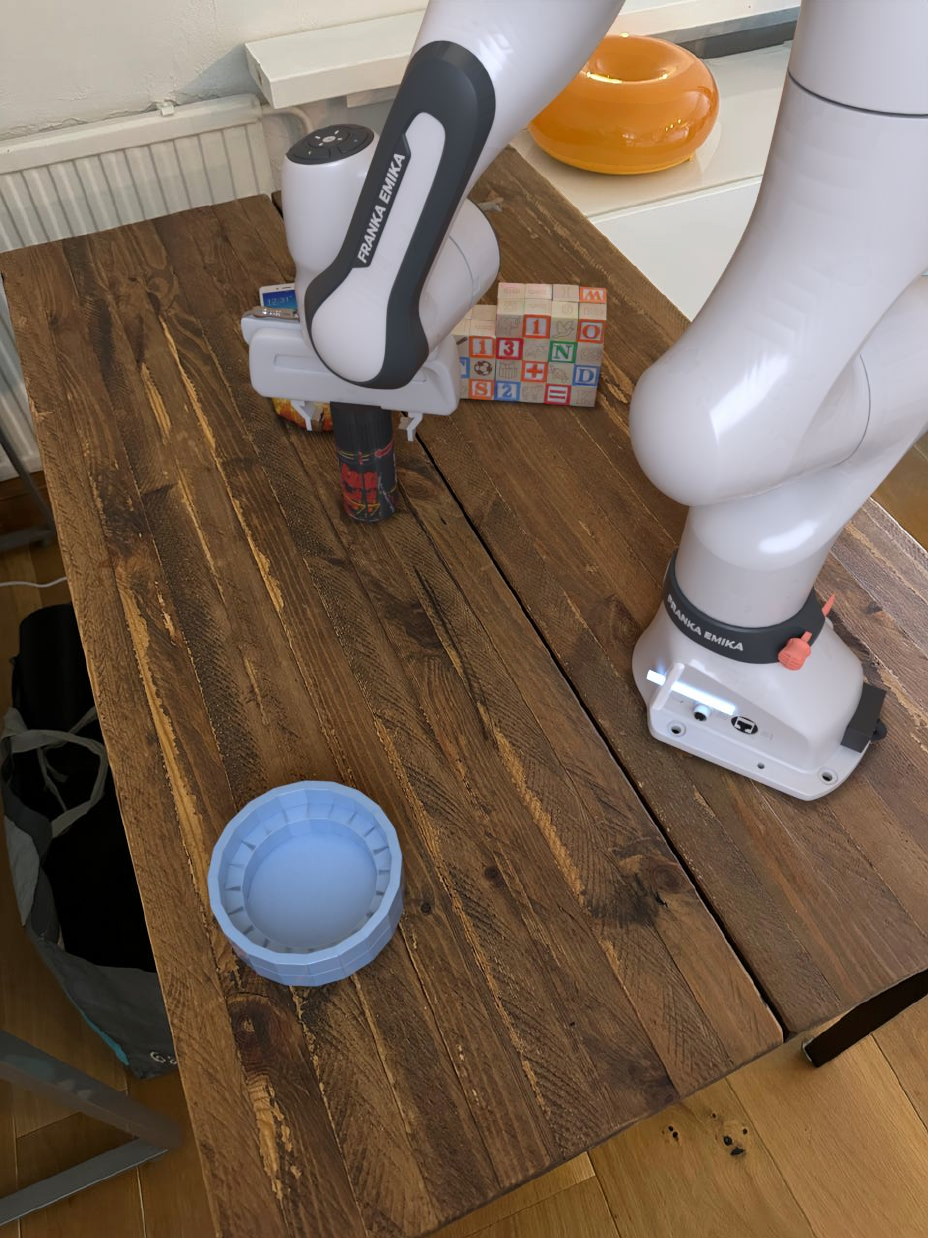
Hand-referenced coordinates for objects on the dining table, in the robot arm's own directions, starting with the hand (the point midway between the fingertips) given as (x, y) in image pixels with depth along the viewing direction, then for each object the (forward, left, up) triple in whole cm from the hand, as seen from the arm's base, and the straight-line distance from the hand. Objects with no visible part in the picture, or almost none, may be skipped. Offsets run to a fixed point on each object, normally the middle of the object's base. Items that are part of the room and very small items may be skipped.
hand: (361, 431), depth 96 cm
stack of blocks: (0, -25, -10) cm, 27 cm away
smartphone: (+30, -18, -10) cm, 36 cm away
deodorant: (0, 0, -10) cm, 10 cm away
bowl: (-26, +36, -10) cm, 46 cm away
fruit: (+15, -8, -10) cm, 19 cm away
